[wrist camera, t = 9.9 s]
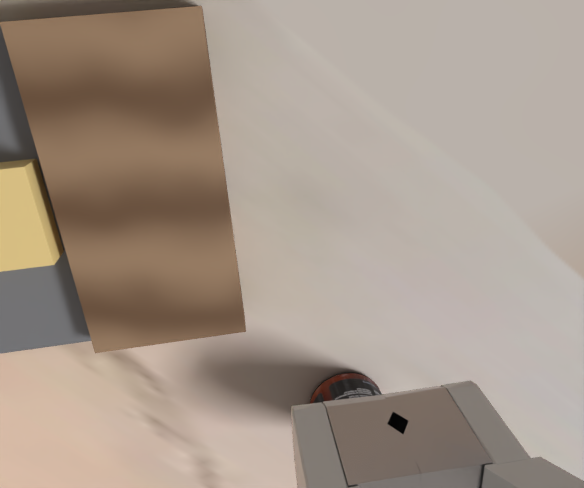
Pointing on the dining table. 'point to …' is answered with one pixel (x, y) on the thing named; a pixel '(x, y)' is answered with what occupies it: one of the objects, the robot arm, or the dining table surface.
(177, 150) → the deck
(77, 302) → the mat
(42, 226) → the pale yellow flat block
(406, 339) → the dining table surface
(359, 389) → the supplement bottle
